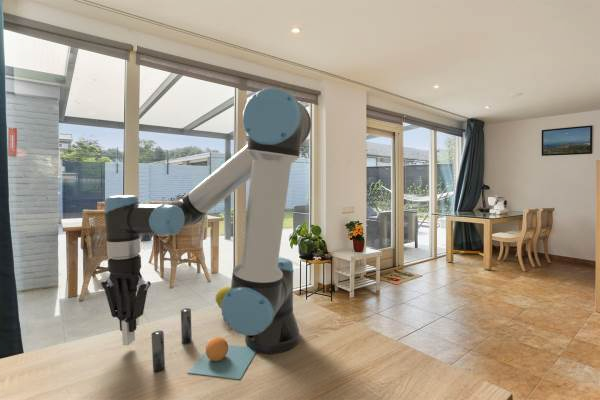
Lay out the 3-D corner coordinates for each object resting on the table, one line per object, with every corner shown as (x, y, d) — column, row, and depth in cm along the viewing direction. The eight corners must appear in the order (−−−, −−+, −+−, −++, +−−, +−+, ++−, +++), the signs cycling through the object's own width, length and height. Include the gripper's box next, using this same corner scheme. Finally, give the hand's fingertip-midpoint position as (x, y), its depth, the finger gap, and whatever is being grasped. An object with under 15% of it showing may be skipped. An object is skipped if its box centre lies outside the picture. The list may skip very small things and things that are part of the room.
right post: (193, 339, 90) (192, 308, 89) (188, 344, 87) (187, 312, 86) (185, 338, 90) (184, 307, 89) (180, 343, 88) (178, 311, 87)
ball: (214, 329, 83) (209, 348, 84) (204, 341, 77) (199, 361, 78) (233, 337, 82) (228, 356, 83) (225, 349, 77) (219, 369, 77)
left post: (167, 366, 77) (165, 331, 76) (160, 373, 75) (159, 336, 74) (157, 365, 78) (155, 330, 77) (150, 372, 75) (149, 335, 74)
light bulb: (232, 323, 99) (231, 292, 98) (212, 321, 100) (211, 290, 100) (240, 313, 106) (239, 284, 105) (221, 312, 107) (220, 283, 106)
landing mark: (257, 348, 85) (257, 347, 85) (240, 379, 72) (240, 379, 72) (212, 343, 87) (212, 343, 87) (187, 373, 75) (187, 372, 75)
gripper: (156, 252, 85) (159, 337, 87) (113, 250, 87) (117, 333, 89) (137, 260, 78) (141, 352, 80) (90, 258, 80) (96, 347, 82)
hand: (129, 342), depth 85 cm, fingers closed
